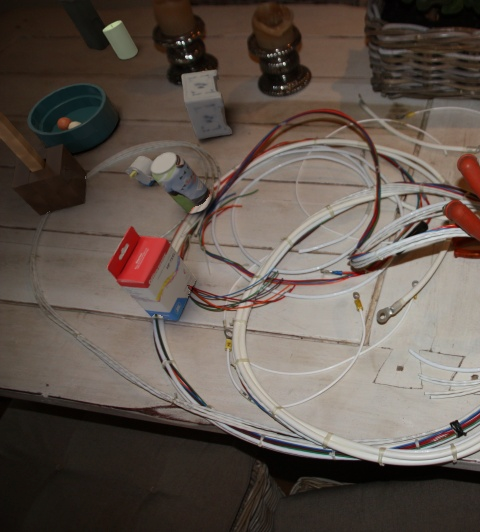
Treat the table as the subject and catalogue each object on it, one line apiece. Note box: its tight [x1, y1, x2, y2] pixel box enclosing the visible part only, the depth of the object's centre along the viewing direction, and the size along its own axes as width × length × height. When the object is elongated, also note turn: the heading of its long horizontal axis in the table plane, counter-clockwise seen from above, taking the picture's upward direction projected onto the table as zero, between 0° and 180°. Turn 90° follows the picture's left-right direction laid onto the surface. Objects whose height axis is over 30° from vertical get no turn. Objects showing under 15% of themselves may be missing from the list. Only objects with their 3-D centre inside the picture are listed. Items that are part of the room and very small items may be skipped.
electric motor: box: [124, 155, 156, 187], centre depth 106 cm, size 7×5×5 cm
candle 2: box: [103, 20, 139, 60], centre depth 131 cm, size 5×5×8 cm
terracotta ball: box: [57, 117, 72, 131], centre depth 118 cm, size 3×3×3 cm
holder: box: [11, 144, 87, 216], centre depth 105 cm, size 9×9×8 cm
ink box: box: [106, 225, 197, 321], centre depth 86 cm, size 8×5×15 cm, turn 170°
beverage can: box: [151, 151, 211, 214], centre depth 98 cm, size 6×7×12 cm
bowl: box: [26, 82, 119, 154], centre depth 117 cm, size 16×16×6 cm
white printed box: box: [181, 69, 233, 140], centre depth 112 cm, size 10×8×10 cm
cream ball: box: [68, 122, 81, 129], centre depth 116 cm, size 3×3×3 cm
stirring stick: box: [0, 110, 46, 172], centre depth 96 cm, size 2×2×28 cm
